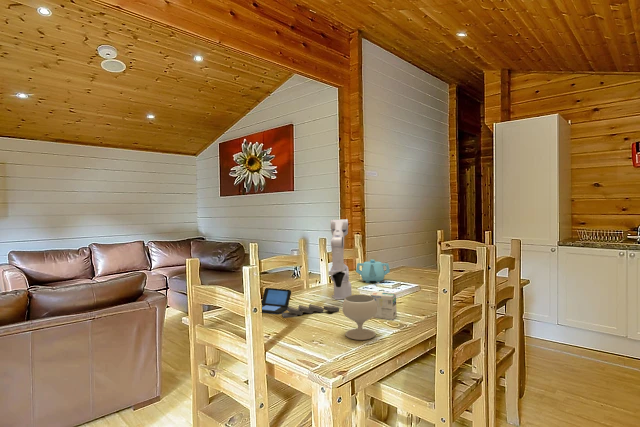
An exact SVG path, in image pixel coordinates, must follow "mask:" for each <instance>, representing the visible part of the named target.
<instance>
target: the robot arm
mask: <svg viewBox="0 0 640 427" xmlns="http://www.w3.org/2000/svg"><path fill="white" fill-rule="evenodd" d="M330 231H331V232H330V233H331V235H332V236H331V238H330V246H331V247H330V248H331V256H332V257H331V260H332V264H331V265H332V266H331V268H330V270H329V271H328V276H330V280H331V281H332V283H333V294H331V297H332V298H333V299H334V300H336V301H337V300H344V299H345V298H346V297H347V296H350V295H353V294H352V292H353V291H352V283H351V281H350V280H349V279H350V270H349V267H348V265H346V264H345V263H344V262H345V261H344V257H345V256H344V254H345V253H344V252H345V251H344V250H345V249H344V248H345V236H347V235H348V233H349V219H348V218H346V219H336V218H335V219H330Z"/></svg>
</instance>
